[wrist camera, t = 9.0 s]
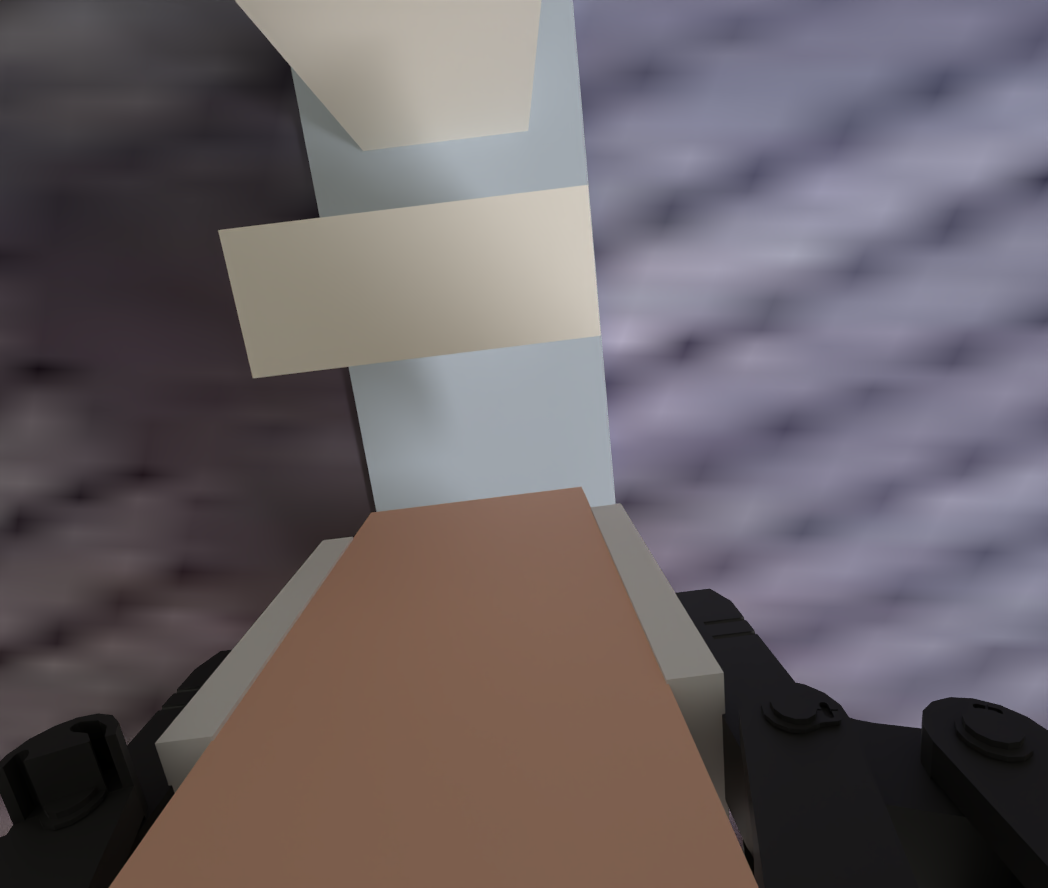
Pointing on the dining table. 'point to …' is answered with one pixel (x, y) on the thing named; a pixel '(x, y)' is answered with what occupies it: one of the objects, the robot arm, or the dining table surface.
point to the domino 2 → (455, 727)
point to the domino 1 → (414, 281)
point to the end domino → (410, 64)
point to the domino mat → (487, 375)
